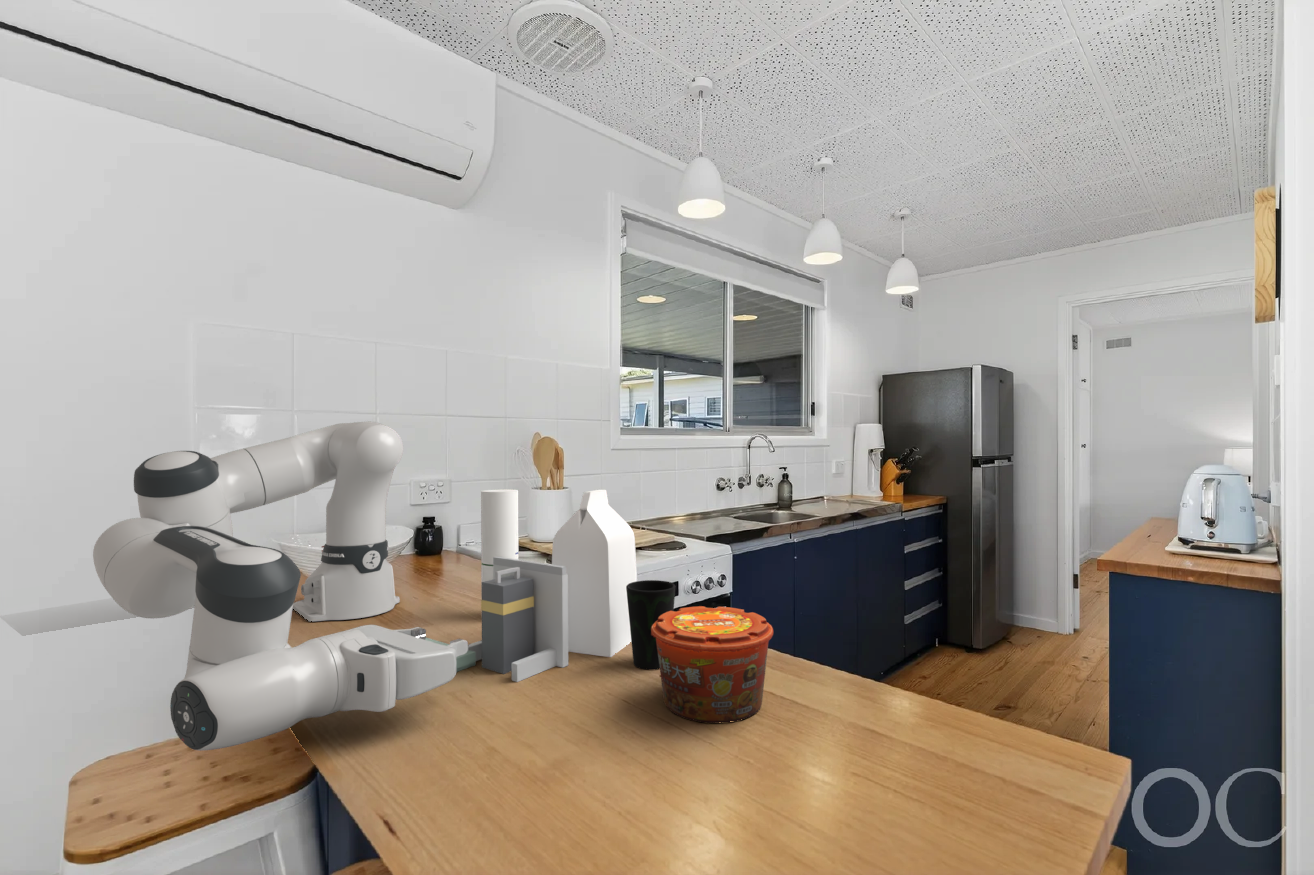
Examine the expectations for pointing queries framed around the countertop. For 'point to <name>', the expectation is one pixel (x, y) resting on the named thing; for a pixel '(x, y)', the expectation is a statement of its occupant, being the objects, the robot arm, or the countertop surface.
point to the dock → (540, 616)
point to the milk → (597, 575)
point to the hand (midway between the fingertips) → (443, 639)
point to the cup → (647, 617)
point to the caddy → (507, 620)
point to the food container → (712, 662)
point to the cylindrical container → (498, 528)
